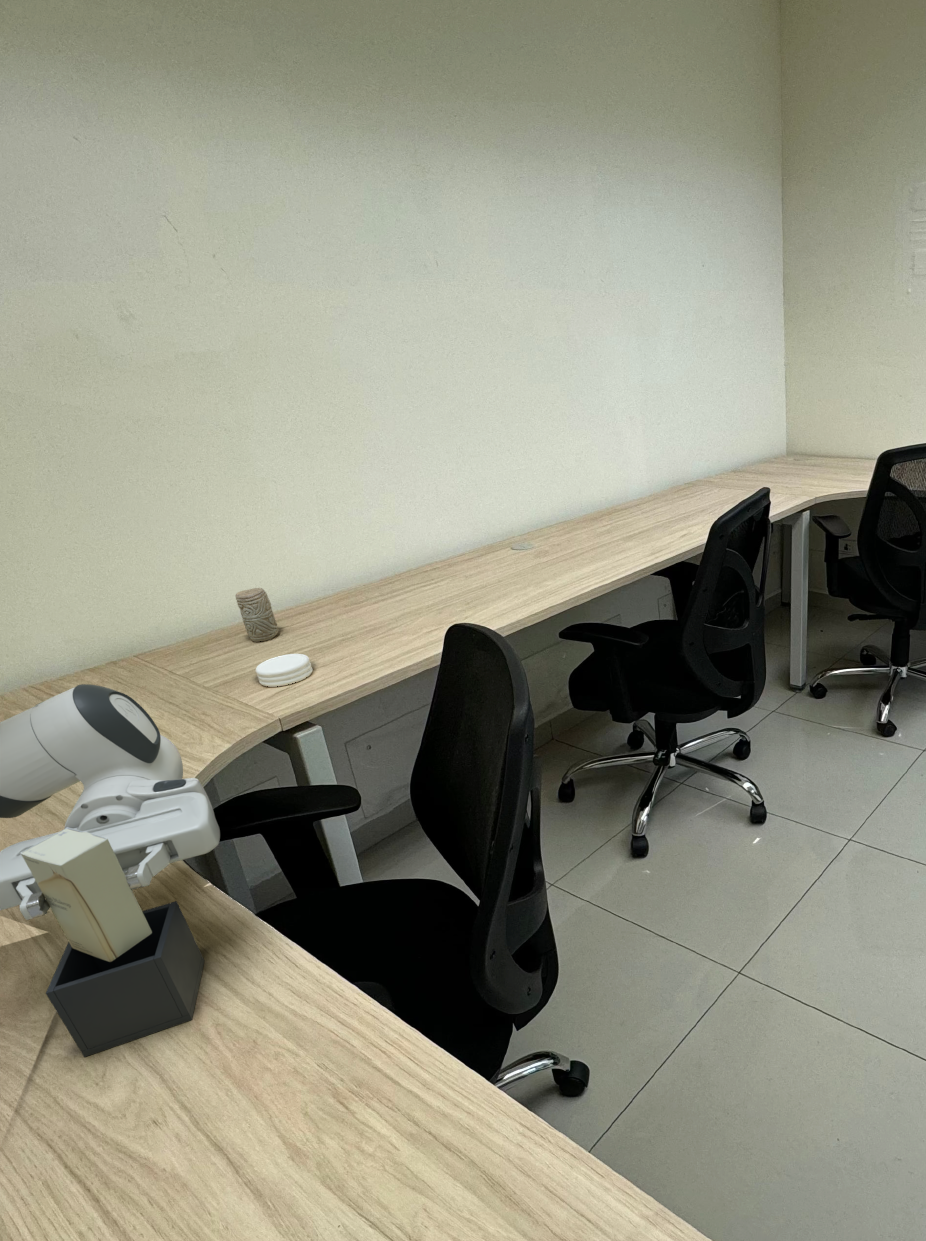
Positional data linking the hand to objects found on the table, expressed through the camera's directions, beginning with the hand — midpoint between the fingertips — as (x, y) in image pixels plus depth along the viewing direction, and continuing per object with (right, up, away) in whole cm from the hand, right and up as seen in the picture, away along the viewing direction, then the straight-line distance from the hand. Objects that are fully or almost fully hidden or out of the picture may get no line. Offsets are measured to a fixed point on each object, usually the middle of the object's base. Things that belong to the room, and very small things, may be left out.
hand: (86, 897), depth 73 cm
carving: (-50, +29, +108) cm, 123 cm away
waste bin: (+1, -14, +7) cm, 16 cm away
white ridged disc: (-32, +20, +86) cm, 94 cm away
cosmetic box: (0, -6, +4) cm, 7 cm away
